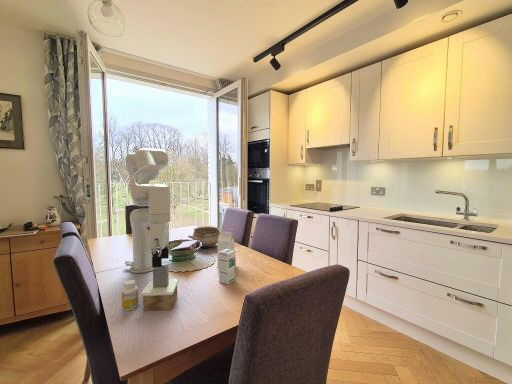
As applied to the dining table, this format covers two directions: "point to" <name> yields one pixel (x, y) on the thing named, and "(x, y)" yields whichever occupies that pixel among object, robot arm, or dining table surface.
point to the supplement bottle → (129, 295)
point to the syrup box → (227, 266)
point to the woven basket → (206, 236)
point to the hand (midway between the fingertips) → (160, 262)
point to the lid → (160, 283)
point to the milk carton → (225, 242)
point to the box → (159, 302)
